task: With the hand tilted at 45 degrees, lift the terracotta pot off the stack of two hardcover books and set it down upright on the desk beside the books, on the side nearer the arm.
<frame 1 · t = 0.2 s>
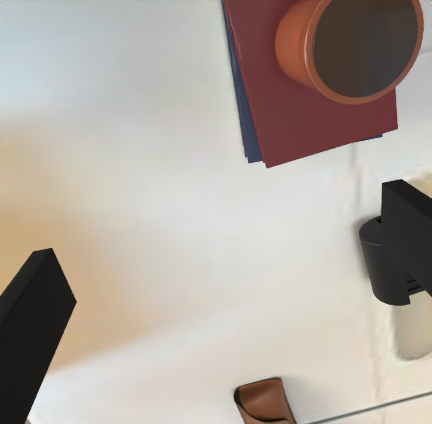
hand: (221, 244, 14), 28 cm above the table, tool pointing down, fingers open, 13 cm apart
navy book: (301, 41, 37), on the table, touching burgundy book
end cap: (380, 243, 49), on the table
burgundy book: (308, 47, 35), point 3 cm above the table, touching navy book, terracotta pot
terracotta pot: (315, 41, 33), point 5 cm above the table, touching burgundy book
sunglasses case: (270, 412, 63), on the table
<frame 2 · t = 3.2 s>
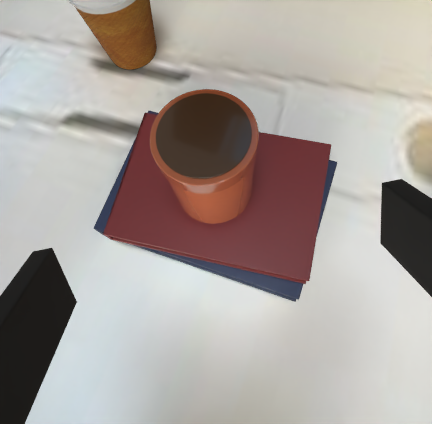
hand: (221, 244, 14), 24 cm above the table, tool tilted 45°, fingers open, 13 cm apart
navy book: (217, 203, 40), on the table, touching burgundy book
burgundy book: (220, 196, 37), point 3 cm above the table, touching navy book, terracotta pot
terracotta pot: (214, 187, 35), point 5 cm above the table, touching burgundy book
disposable coffee cup: (134, 51, 48), on the table
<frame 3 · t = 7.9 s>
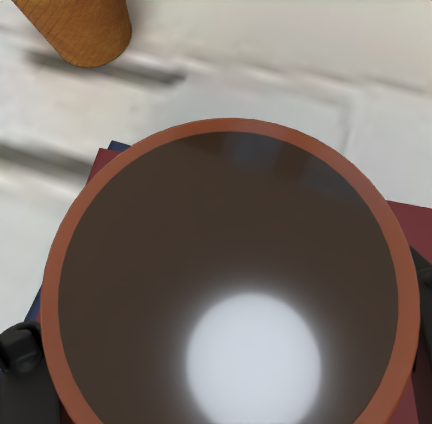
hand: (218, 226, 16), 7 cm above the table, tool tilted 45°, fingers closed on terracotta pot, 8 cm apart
navy book: (237, 313, 22), on the table, touching burgundy book
burgundy book: (245, 314, 19), point 3 cm above the table, touching navy book, terracotta pot
terracotta pot: (235, 308, 17), point 5 cm above the table, touching burgundy book, gripper
disposable coffee cup: (95, 38, 30), on the table
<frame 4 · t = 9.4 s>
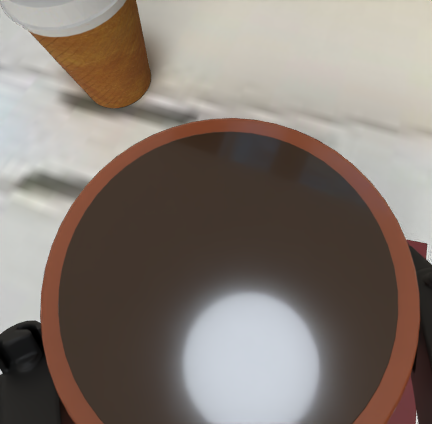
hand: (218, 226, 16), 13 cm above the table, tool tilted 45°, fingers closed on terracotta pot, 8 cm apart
burgundy book: (249, 318, 24), point 2 cm above the table, touching navy book
terracotta pot: (235, 308, 17), point 10 cm above the table, touching gripper
disposable coffee cup: (120, 82, 35), on the table
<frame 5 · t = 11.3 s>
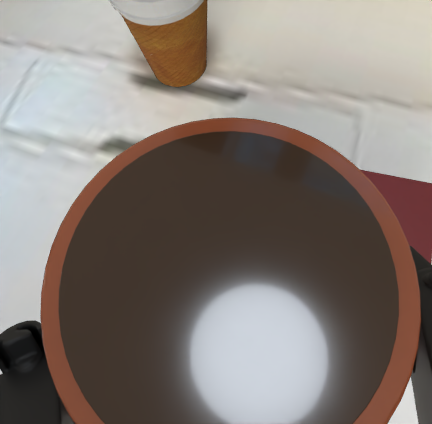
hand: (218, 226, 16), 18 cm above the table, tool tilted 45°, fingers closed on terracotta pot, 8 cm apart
burgundy book: (297, 243, 31), point 3 cm above the table, touching navy book
terracotta pot: (235, 308, 17), point 16 cm above the table, touching gripper
disposable coffee cup: (180, 65, 42), on the table
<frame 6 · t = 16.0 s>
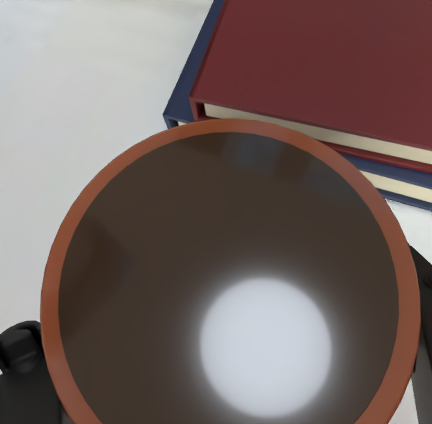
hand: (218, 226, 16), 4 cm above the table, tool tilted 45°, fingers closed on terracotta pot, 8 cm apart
navy book: (375, 82, 22), on the table, touching burgundy book
burgundy book: (401, 52, 20), point 3 cm above the table, touching navy book
terracotta pot: (235, 309, 17), point 2 cm above the table, touching gripper
when the fingers open (3 cm above the table, at t = 17.0 s): terracotta pot stays where it is, on the table.
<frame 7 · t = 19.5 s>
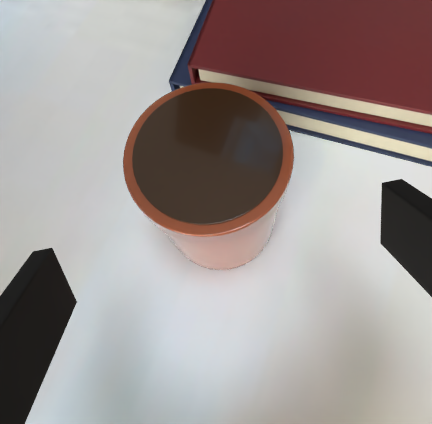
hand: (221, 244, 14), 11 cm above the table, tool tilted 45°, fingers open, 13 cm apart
navy book: (327, 59, 30), on the table, touching burgundy book
burgundy book: (342, 36, 27), point 2 cm above the table, touching navy book
terracotta pot: (221, 218, 26), on the table
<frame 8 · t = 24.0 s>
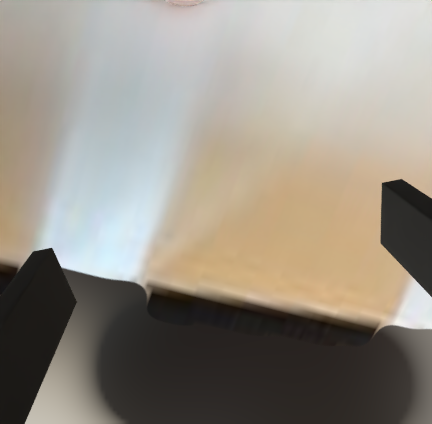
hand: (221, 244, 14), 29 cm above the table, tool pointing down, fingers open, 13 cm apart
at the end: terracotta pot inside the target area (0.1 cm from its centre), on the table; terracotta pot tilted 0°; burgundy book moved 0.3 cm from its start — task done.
